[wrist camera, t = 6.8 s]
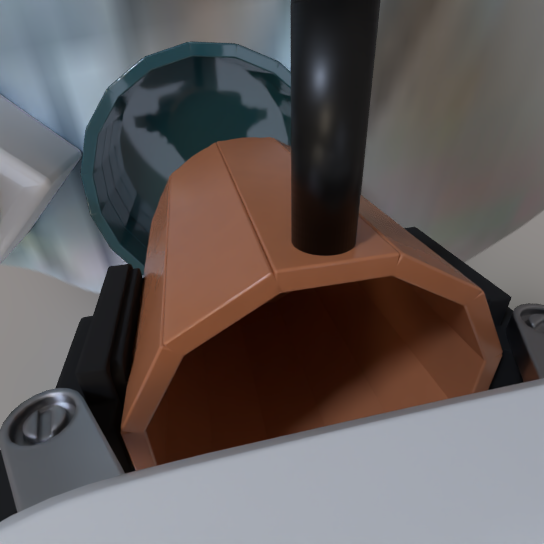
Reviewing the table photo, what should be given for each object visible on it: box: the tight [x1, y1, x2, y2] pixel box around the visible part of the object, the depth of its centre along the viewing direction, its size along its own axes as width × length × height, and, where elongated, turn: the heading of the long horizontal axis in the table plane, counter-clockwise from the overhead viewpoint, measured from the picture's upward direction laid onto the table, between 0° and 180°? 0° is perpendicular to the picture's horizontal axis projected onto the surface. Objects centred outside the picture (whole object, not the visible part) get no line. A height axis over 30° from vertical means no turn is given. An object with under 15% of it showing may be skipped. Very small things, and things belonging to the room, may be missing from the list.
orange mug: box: [120, 0, 503, 471], centre depth 10 cm, size 11×7×9 cm
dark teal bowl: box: [81, 42, 291, 275], centre depth 23 cm, size 14×14×6 cm
